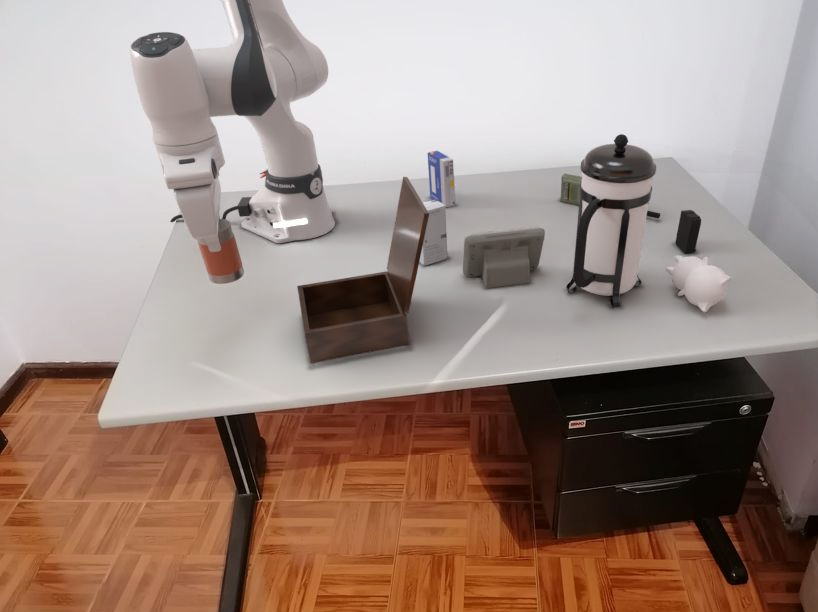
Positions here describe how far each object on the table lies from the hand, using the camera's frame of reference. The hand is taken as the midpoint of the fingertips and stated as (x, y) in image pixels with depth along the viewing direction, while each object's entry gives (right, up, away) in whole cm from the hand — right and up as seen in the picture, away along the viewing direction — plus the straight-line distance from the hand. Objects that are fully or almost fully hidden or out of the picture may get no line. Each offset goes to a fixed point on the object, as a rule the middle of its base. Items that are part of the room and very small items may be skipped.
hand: (216, 240), depth 103 cm
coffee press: (+67, -7, +21) cm, 70 cm away
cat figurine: (+85, -8, +18) cm, 87 cm away
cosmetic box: (+33, +2, +34) cm, 47 cm away
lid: (+30, 0, +4) cm, 30 cm away
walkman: (+34, +20, +58) cm, 70 cm away
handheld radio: (+75, +16, +51) cm, 92 cm away
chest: (+20, -15, +12) cm, 28 cm away
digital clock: (+48, -3, +27) cm, 55 cm away
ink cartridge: (+88, +4, +34) cm, 94 cm away
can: (0, -5, +4) cm, 7 cm away
